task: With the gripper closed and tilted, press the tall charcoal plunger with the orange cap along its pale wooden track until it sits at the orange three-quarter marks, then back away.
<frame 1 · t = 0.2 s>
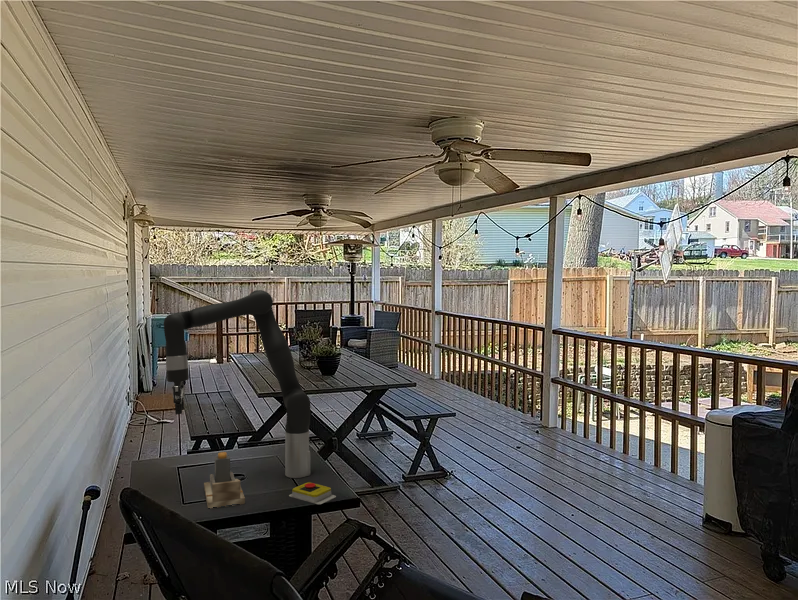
hand: (179, 412, 209), 28 cm above the table, tool pointing down, fingers open, 8 cm apart
plunger: (222, 469, 207), point 8 cm above the table, slide at 0.0 cm
emergency button: (312, 498, 202), on the table
track: (223, 495, 202), on the table
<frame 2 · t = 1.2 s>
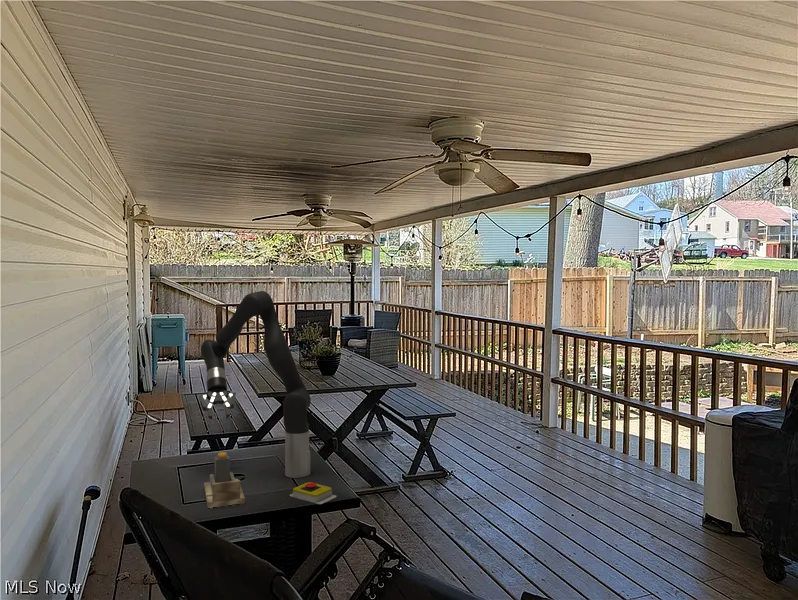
hand: (219, 417, 218), 24 cm above the table, tool tilted 45°, fingers open, 5 cm apart
nothing on the table moved.
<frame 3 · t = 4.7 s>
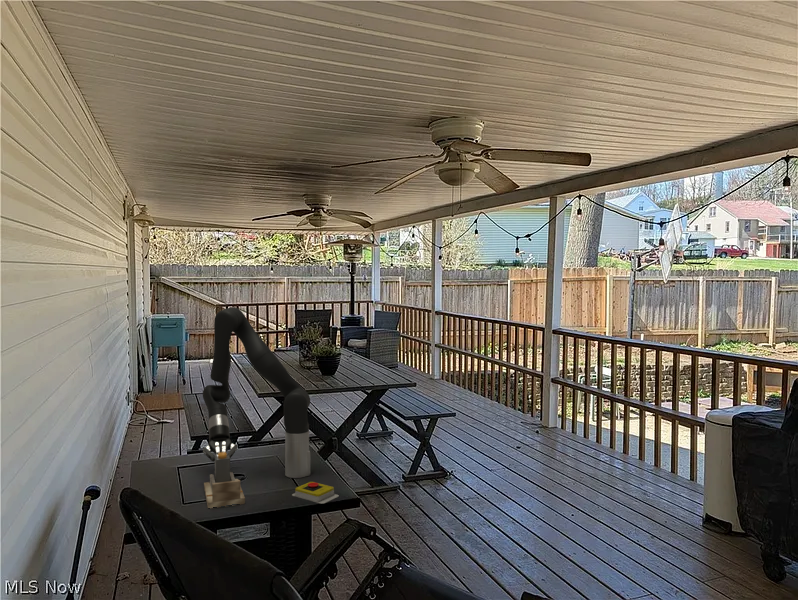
hand: (221, 470, 209), 7 cm above the table, tool tilted 45°, fingers closed
plunger: (222, 469, 207), point 8 cm above the table, slide at 0.1 cm, touching gripper
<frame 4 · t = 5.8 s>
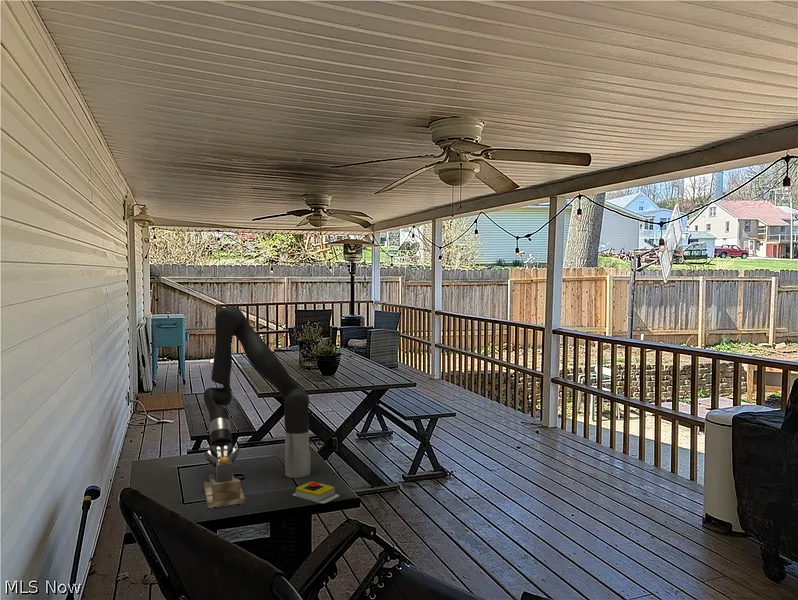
hand: (223, 475, 203), 7 cm above the table, tool tilted 45°, fingers closed
plunger: (224, 474, 201), point 8 cm above the table, slide at 6.4 cm, touching gripper
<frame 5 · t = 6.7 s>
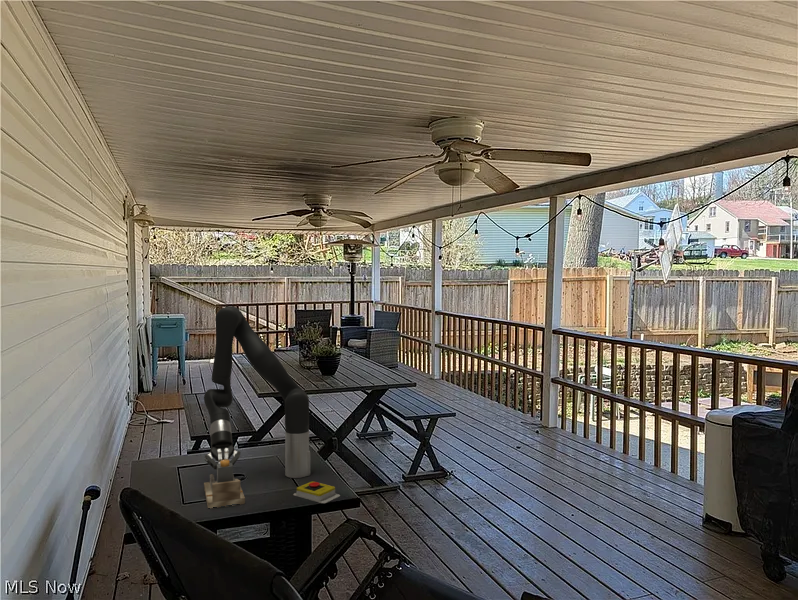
hand: (224, 478, 200), 7 cm above the table, tool tilted 45°, fingers closed
plunger: (224, 477, 198), point 8 cm above the table, slide at 9.7 cm, touching gripper
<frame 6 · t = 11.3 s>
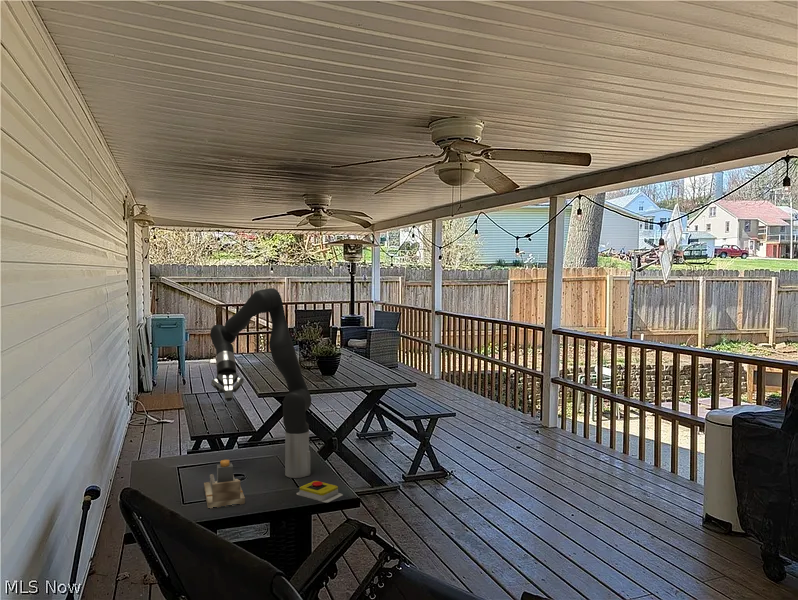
hand: (229, 400, 222), 30 cm above the table, tool tilted 45°, fingers closed
plunger: (225, 477, 198), point 8 cm above the table, slide at 9.9 cm
emergency button: (319, 496, 204), on the table
at the end: plunger slide at 9.9 cm; emergency button moved 3.1 cm from its start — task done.
